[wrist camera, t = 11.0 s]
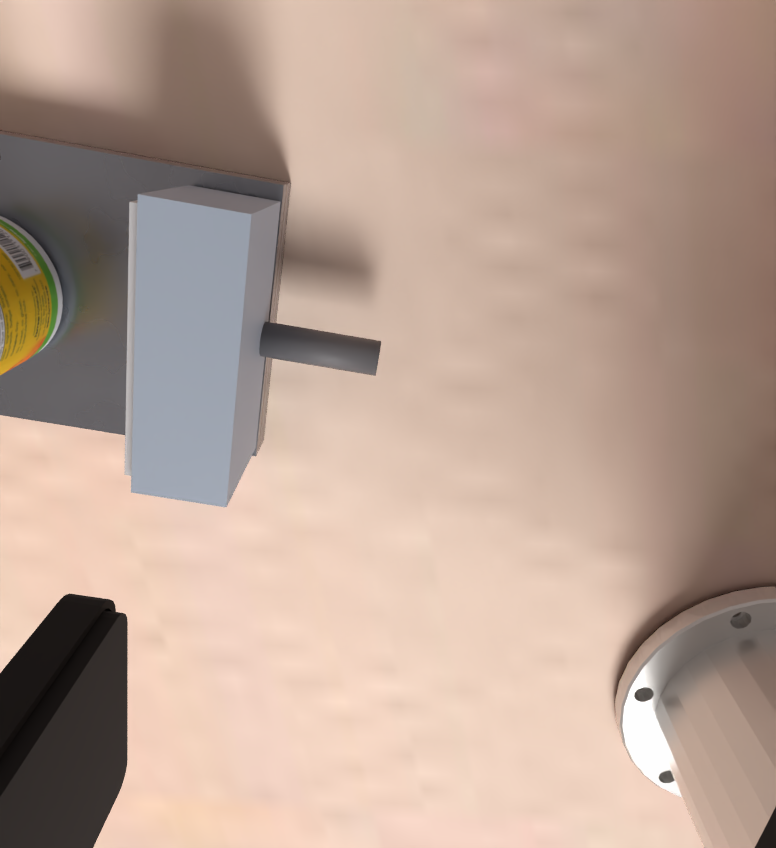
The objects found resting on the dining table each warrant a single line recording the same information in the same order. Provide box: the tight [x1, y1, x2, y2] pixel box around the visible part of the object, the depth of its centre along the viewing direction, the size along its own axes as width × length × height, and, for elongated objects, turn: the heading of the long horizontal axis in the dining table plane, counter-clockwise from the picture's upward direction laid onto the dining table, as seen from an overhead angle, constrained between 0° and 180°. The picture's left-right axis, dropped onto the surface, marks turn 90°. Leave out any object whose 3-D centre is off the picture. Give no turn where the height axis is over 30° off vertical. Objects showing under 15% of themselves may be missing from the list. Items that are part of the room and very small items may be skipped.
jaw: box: [125, 185, 381, 507], centre depth 21 cm, size 7×9×4 cm
